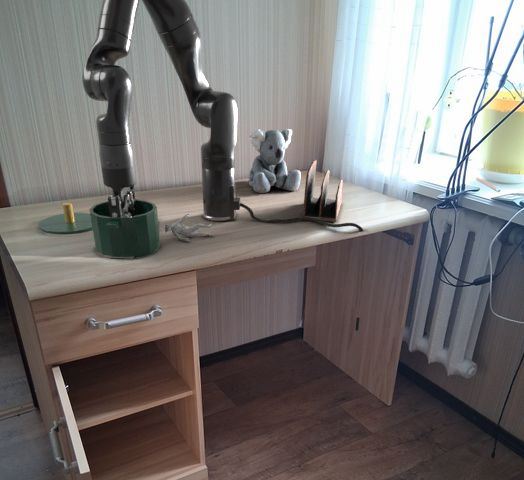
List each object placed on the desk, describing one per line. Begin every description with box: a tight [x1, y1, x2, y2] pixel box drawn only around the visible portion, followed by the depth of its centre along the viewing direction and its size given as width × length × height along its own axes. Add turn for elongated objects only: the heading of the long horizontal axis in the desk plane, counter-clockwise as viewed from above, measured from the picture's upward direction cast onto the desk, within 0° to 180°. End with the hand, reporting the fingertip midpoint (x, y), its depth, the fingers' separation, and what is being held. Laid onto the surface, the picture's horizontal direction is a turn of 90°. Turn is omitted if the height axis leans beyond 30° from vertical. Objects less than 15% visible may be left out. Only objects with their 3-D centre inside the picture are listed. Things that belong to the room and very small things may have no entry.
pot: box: [88, 198, 161, 260], centre depth 125 cm, size 16×21×10 cm
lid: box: [38, 202, 93, 235], centre depth 140 cm, size 17×17×6 cm
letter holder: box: [302, 159, 344, 223], centre depth 153 cm, size 10×20×14 cm, turn 168°
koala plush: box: [248, 127, 302, 194], centre depth 175 cm, size 17×18×20 cm
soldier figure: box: [163, 213, 213, 242], centre depth 134 cm, size 8×5×12 cm
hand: (126, 232), depth 126 cm, fingers open, 8 cm apart
